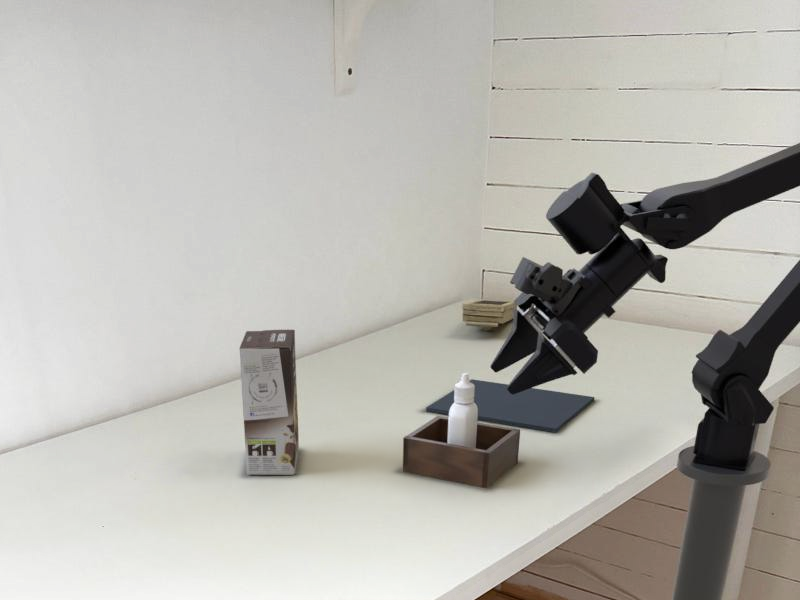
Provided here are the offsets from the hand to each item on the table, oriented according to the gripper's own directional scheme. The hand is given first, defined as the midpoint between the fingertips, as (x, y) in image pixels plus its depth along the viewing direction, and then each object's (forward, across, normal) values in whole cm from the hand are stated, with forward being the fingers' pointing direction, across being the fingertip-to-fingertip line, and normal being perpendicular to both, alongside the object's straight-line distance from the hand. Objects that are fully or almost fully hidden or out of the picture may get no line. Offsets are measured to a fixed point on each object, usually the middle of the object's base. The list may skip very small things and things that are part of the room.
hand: (500, 380), depth 120 cm
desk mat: (+2, -24, +13) cm, 27 cm away
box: (-2, -71, +18) cm, 74 cm away
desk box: (+11, 0, +5) cm, 12 cm away
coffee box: (+28, -5, -12) cm, 31 cm away
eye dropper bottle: (+11, 0, +5) cm, 12 cm away
